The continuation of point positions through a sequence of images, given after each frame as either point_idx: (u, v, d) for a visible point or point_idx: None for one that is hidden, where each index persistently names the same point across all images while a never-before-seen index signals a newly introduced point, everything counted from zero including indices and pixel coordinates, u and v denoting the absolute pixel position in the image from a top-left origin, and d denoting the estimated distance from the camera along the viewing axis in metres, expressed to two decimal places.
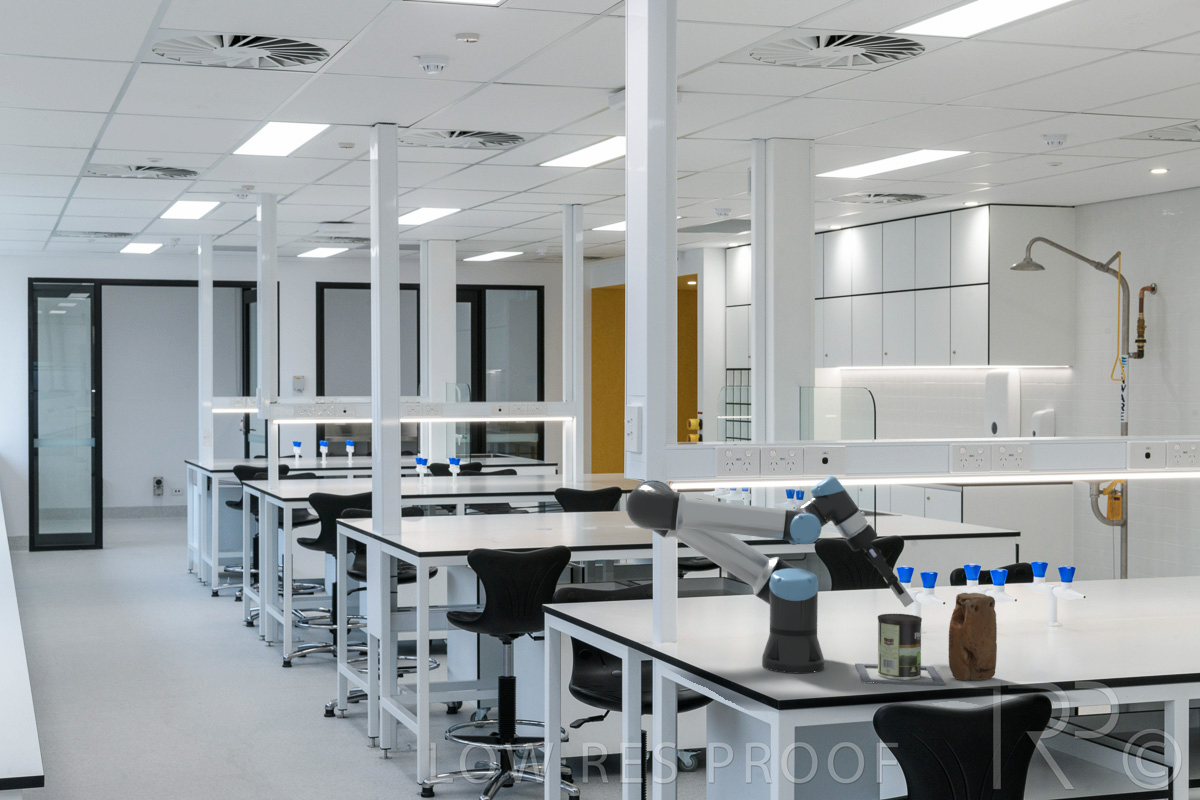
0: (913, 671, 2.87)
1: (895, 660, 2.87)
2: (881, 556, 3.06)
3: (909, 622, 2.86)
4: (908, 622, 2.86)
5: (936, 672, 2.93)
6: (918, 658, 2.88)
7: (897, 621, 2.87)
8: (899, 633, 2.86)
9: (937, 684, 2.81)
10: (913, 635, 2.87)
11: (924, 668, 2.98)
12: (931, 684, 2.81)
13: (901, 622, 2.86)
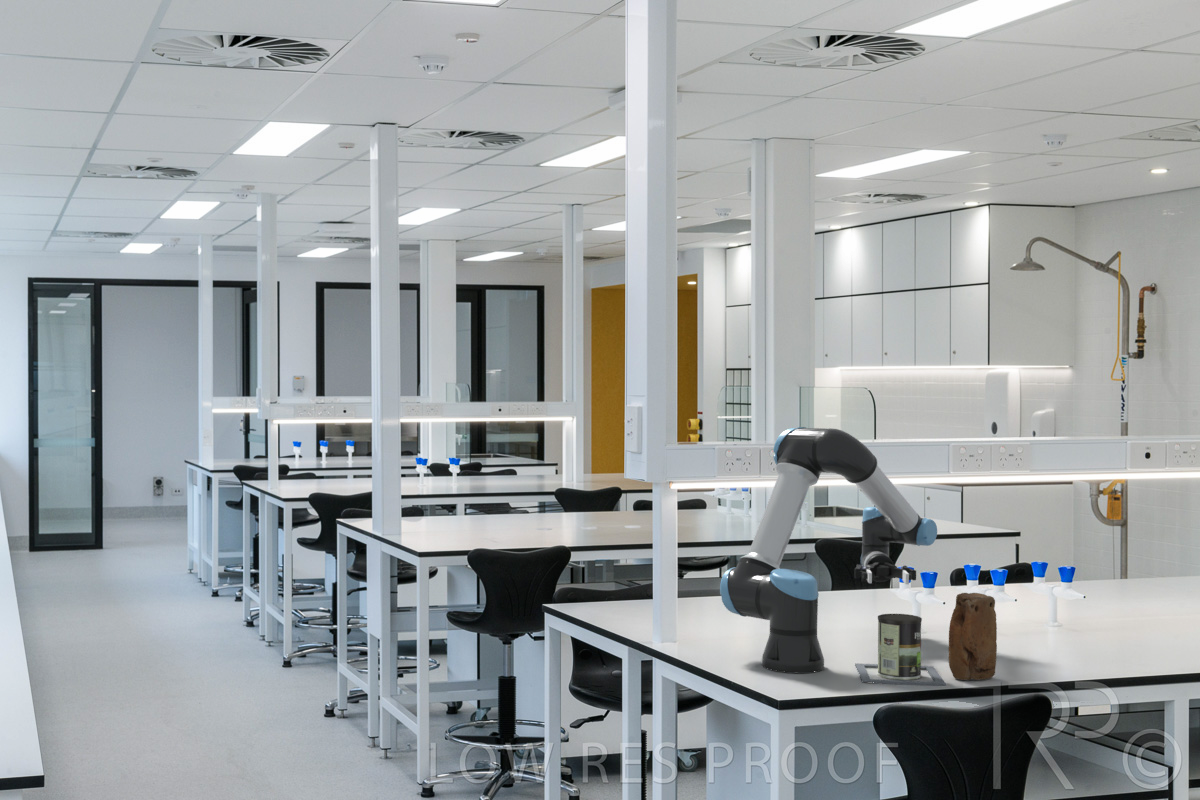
0: (913, 671, 2.87)
1: (895, 660, 2.87)
2: None
3: (909, 622, 2.86)
4: (908, 622, 2.86)
5: (936, 672, 2.93)
6: (918, 658, 2.88)
7: (897, 621, 2.87)
8: (899, 633, 2.86)
9: (937, 684, 2.81)
10: (913, 635, 2.87)
11: (924, 668, 2.98)
12: (931, 684, 2.81)
13: (901, 622, 2.86)
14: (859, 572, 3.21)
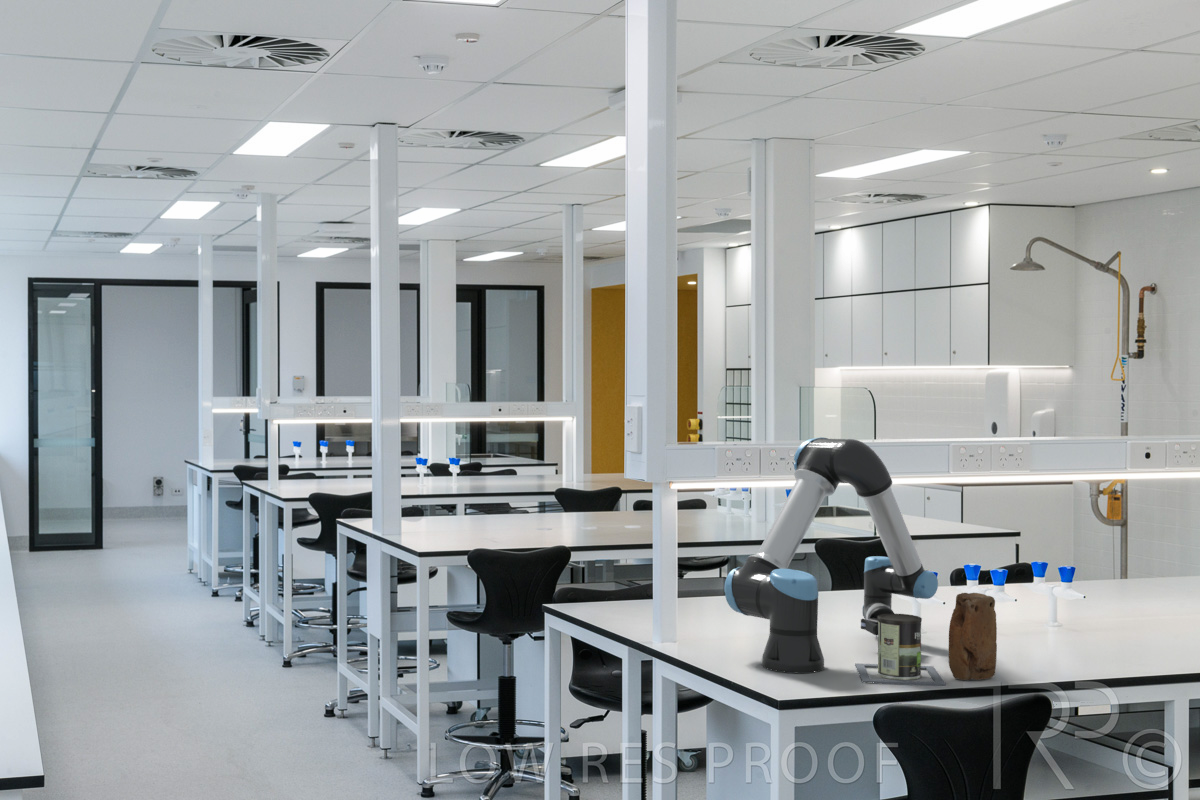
0: (913, 671, 2.87)
1: (895, 660, 2.87)
2: None
3: (909, 622, 2.86)
4: (908, 622, 2.86)
5: (936, 672, 2.93)
6: (918, 658, 2.88)
7: (897, 621, 2.87)
8: (899, 633, 2.86)
9: (937, 684, 2.81)
10: (913, 635, 2.87)
11: (924, 668, 2.98)
12: (931, 684, 2.81)
13: (901, 622, 2.86)
14: None
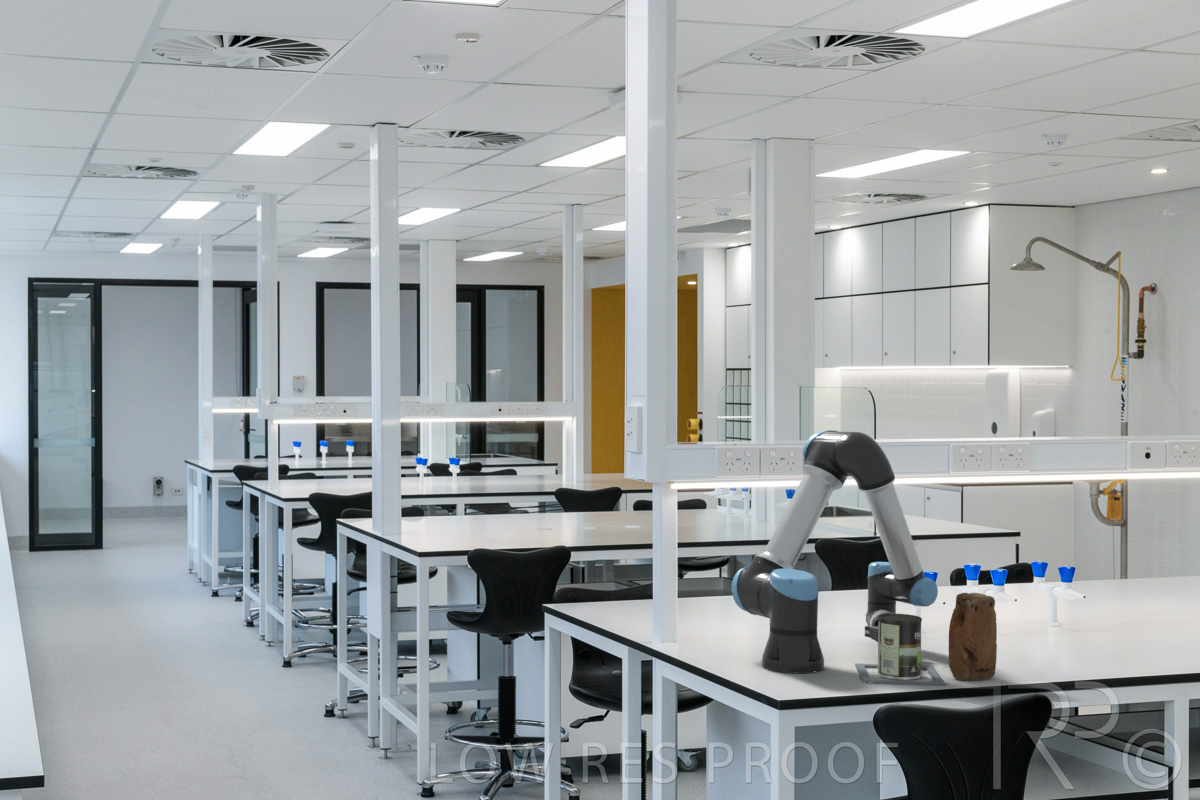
0: (913, 671, 2.87)
1: (895, 661, 2.86)
2: None
3: (909, 622, 2.86)
4: (908, 622, 2.86)
5: (936, 672, 2.93)
6: (918, 658, 2.88)
7: (897, 621, 2.86)
8: (899, 633, 2.86)
9: (937, 684, 2.81)
10: (913, 635, 2.87)
11: (924, 668, 2.98)
12: (931, 684, 2.81)
13: (901, 622, 2.86)
14: None
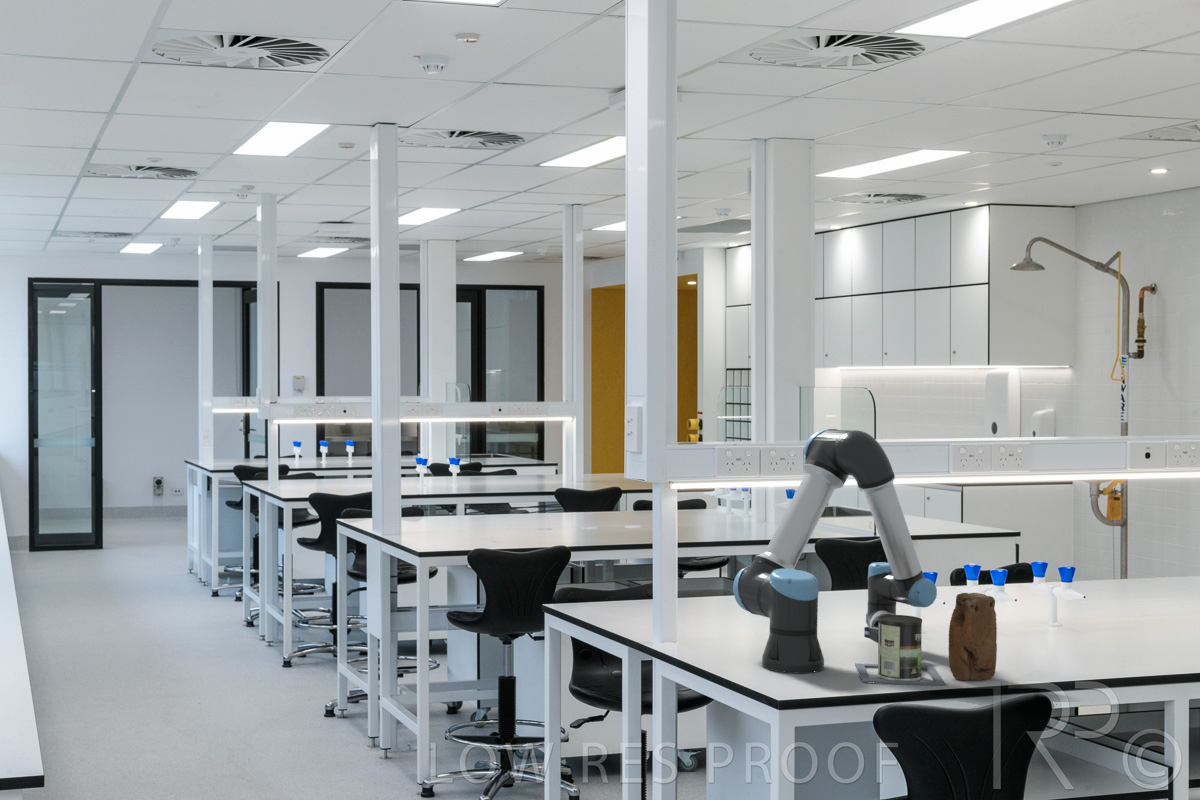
0: (914, 673, 2.85)
1: (896, 662, 2.85)
2: None
3: (910, 623, 2.85)
4: (909, 623, 2.85)
5: (936, 672, 2.93)
6: (919, 659, 2.86)
7: (898, 622, 2.85)
8: (900, 634, 2.85)
9: (937, 684, 2.81)
10: (914, 636, 2.85)
11: (924, 668, 2.98)
12: (931, 684, 2.81)
13: (902, 623, 2.84)
14: None
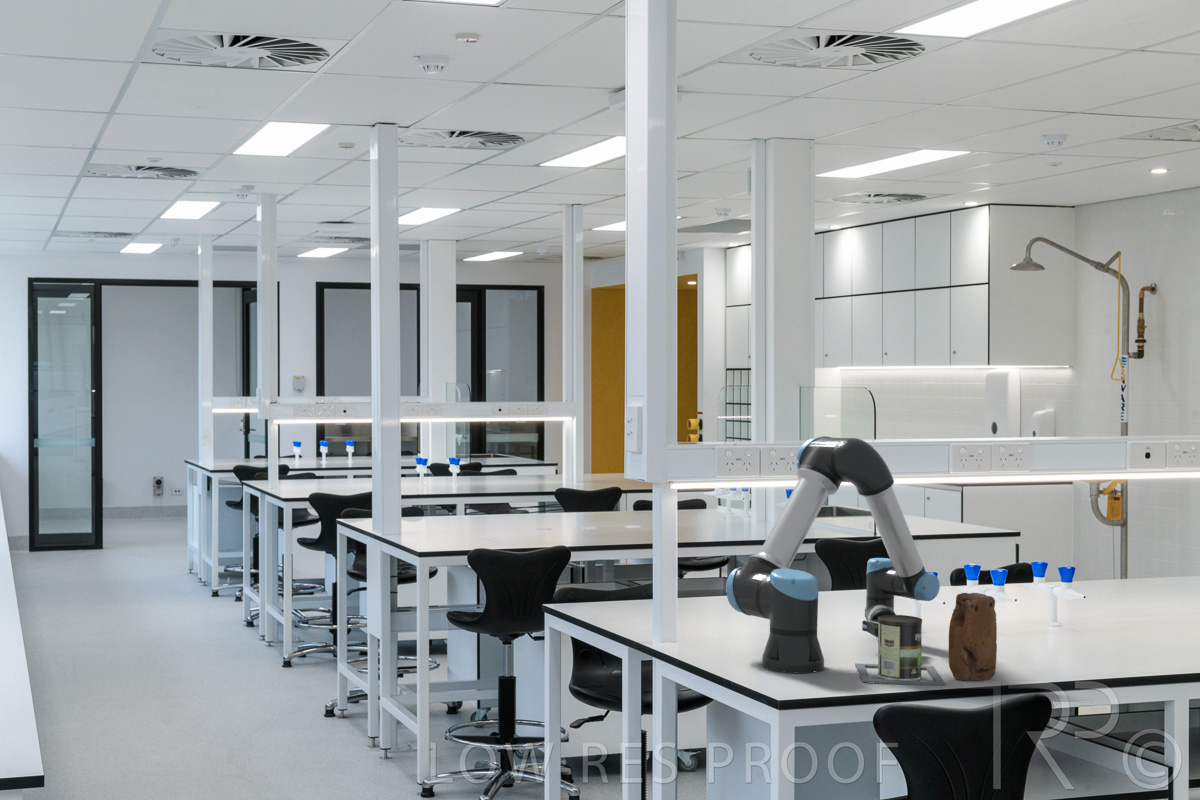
0: (914, 673, 2.85)
1: (896, 662, 2.85)
2: None
3: (910, 623, 2.85)
4: (909, 623, 2.85)
5: (936, 672, 2.93)
6: (919, 660, 2.86)
7: (898, 622, 2.85)
8: (900, 634, 2.85)
9: (937, 684, 2.81)
10: (914, 636, 2.85)
11: (924, 668, 2.98)
12: (931, 684, 2.81)
13: (902, 623, 2.84)
14: None
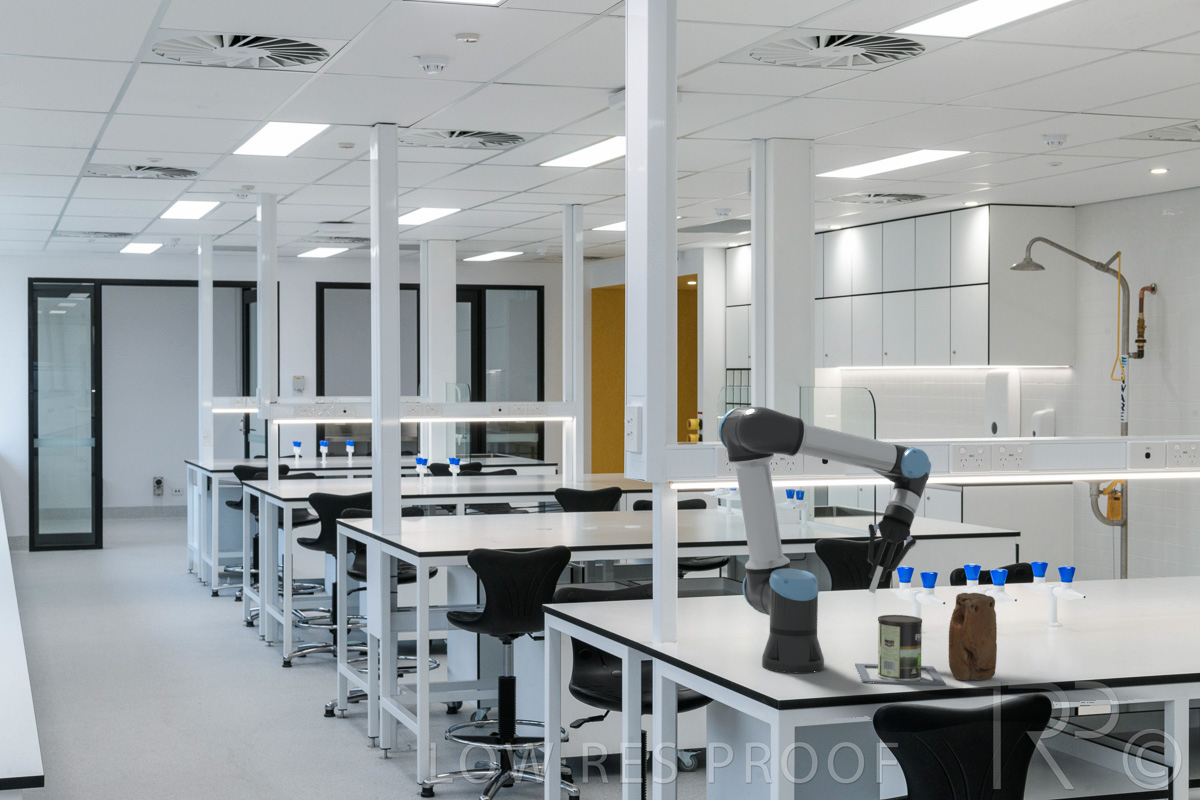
0: (914, 673, 2.85)
1: (896, 662, 2.85)
2: (896, 544, 3.17)
3: (910, 623, 2.85)
4: (909, 623, 2.85)
5: (936, 672, 2.93)
6: (919, 660, 2.86)
7: (898, 622, 2.85)
8: (900, 634, 2.85)
9: (937, 684, 2.81)
10: (914, 636, 2.85)
11: (924, 668, 2.98)
12: (931, 684, 2.81)
13: (902, 623, 2.84)
14: (871, 562, 3.14)
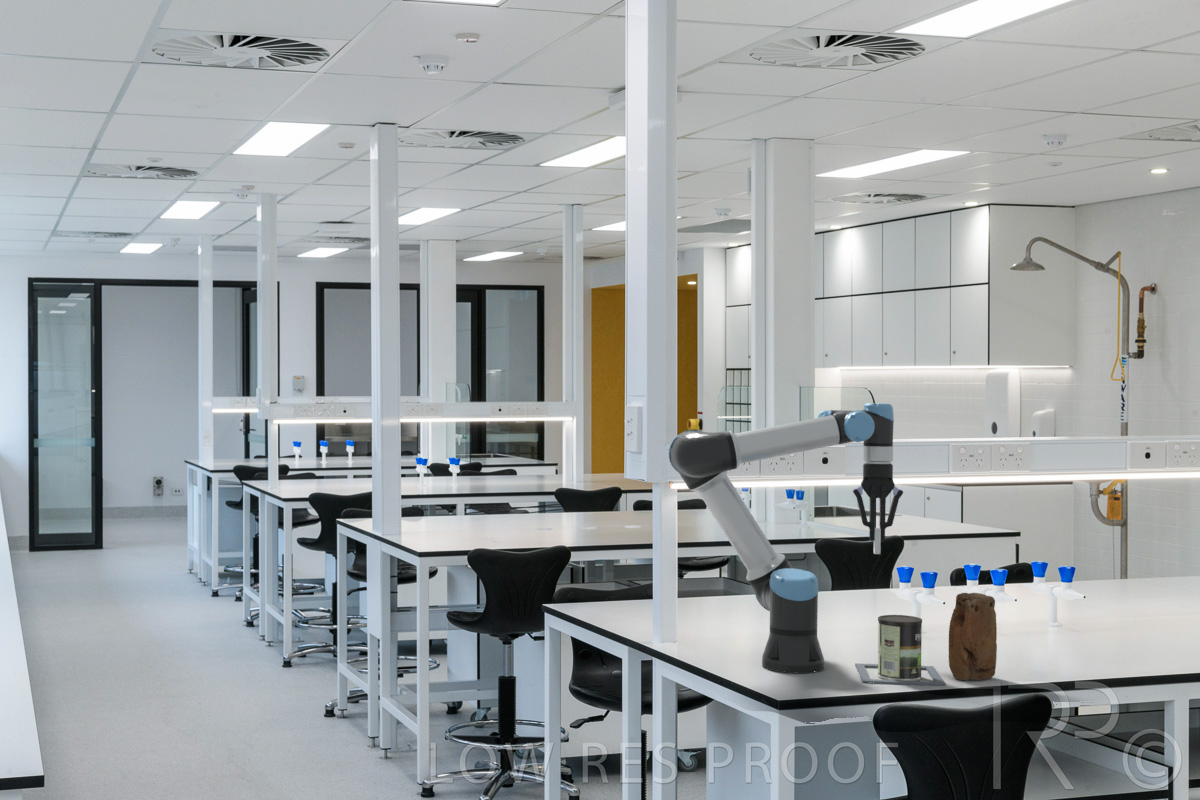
0: (914, 673, 2.85)
1: (896, 662, 2.85)
2: None
3: (910, 623, 2.85)
4: (909, 623, 2.85)
5: (936, 672, 2.93)
6: (919, 659, 2.86)
7: (898, 622, 2.85)
8: (900, 634, 2.85)
9: (937, 684, 2.81)
10: (914, 636, 2.85)
11: (924, 668, 2.98)
12: (931, 684, 2.81)
13: (902, 623, 2.84)
14: (867, 526, 3.14)
